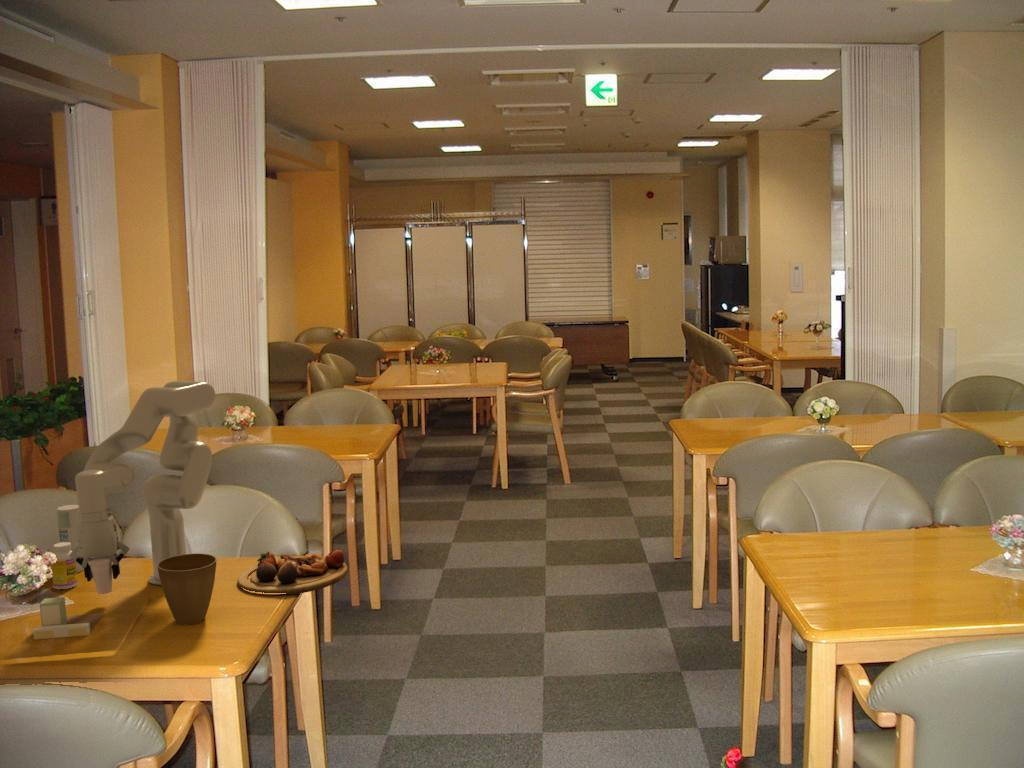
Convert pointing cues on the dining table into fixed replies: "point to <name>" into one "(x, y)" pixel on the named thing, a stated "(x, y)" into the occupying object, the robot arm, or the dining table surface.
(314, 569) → the wooden plate with food
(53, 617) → the tea box
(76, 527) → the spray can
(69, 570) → the supplement bottle
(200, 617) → the plant pot
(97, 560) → the smoothie
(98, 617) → the shelf board
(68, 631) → the rail
